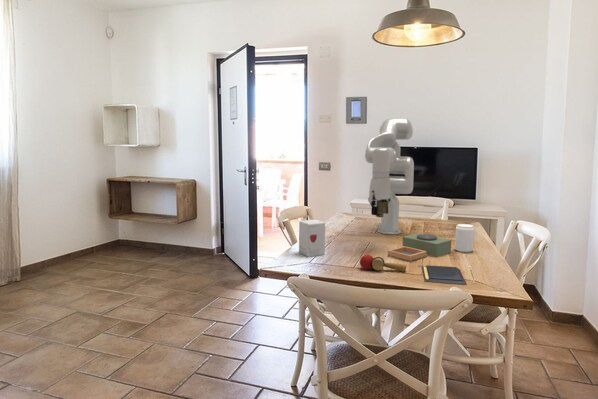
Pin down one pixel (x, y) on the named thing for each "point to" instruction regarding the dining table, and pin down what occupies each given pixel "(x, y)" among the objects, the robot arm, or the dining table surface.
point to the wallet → (443, 275)
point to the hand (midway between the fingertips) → (379, 213)
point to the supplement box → (312, 238)
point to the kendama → (379, 263)
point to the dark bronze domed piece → (382, 208)
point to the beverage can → (464, 238)
